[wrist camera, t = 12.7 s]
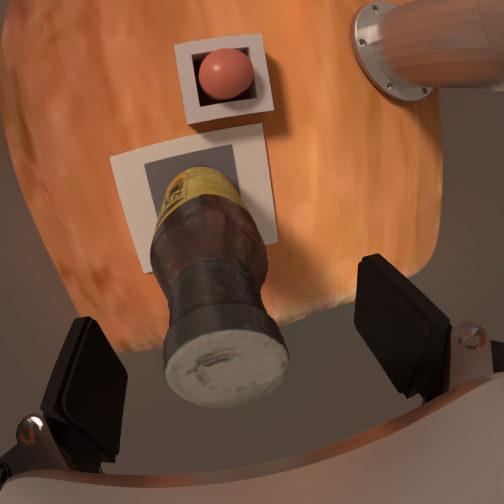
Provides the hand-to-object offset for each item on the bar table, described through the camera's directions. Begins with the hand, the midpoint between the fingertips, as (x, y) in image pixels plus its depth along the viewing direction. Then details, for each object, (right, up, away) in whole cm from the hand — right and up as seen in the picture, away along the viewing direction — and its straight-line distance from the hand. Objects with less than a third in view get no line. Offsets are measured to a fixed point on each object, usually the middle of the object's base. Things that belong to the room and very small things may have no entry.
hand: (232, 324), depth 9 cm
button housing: (-2, +17, +12) cm, 21 cm away
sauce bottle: (-4, +7, +16) cm, 18 cm away
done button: (-2, +17, +11) cm, 20 cm away
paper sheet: (-4, +7, +17) cm, 19 cm away
